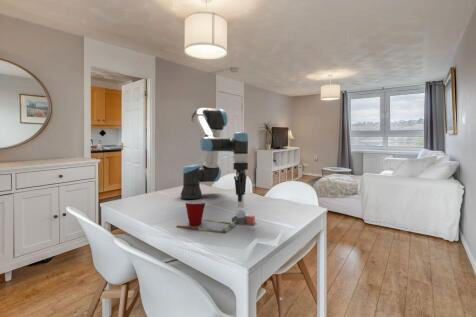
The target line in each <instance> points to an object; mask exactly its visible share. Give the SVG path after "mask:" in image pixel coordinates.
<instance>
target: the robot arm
mask: <svg viewBox="0 0 476 317" xmlns="http://www.w3.org/2000/svg"><path fill="white" fill-rule="evenodd" d="M191 122H192V125H193V126H194V127H196V130H197V131H198V134H199V136H200V142H199V144H200V150H202V151H203V152H205V161H204V162H203V163H202V165H200V164H191V165H185V166H184V167H183V171H182V174H183V175H182V176H183V178H182V179H183V180H182V181H183V182H182V184H183V185H182V190H181V191H180V198H181V199H184V200H185V199H186V200H187V199H188V200H189V199H190V200H193V199H194V200H195V199H200V198H202V197H203V192H202V189H201V187H200V183H215V182H218V181H219V180H220V178H221V175H222V172H221V171H222V169H221V167H220V165H219V163H218V159H219V158H218V157H219V152H229V153H232V152H233V156H232V158H233V170H235V171H236V173H235V175H234V176H233V179H234V187H235V195H236V196H237V208H240V209H241V208H242V209H243V208H245V206H244V204H245V203H244V199H245V198H244V197H245V196H244V195H246V186H247V178H248V176H247V174H246V170H248V169H249V163H248V162H249V135H248V134H249V133H247V132H242V131H241V132H234V133H233V136H232V137H221V135H222V134H221V132H222V131H223V130H224V127H227V123H228V115H227V112H226V110H225V109H222V108H213V107H200V108H197V109H196V110H194V112H193V113H192V115H191Z"/></svg>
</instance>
